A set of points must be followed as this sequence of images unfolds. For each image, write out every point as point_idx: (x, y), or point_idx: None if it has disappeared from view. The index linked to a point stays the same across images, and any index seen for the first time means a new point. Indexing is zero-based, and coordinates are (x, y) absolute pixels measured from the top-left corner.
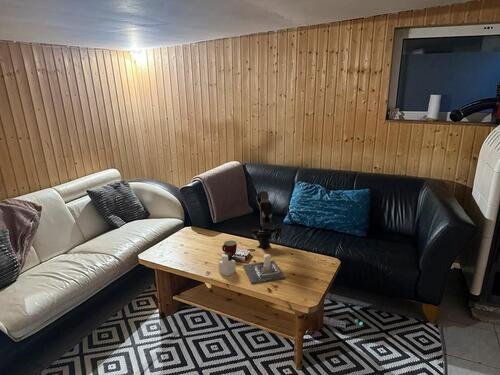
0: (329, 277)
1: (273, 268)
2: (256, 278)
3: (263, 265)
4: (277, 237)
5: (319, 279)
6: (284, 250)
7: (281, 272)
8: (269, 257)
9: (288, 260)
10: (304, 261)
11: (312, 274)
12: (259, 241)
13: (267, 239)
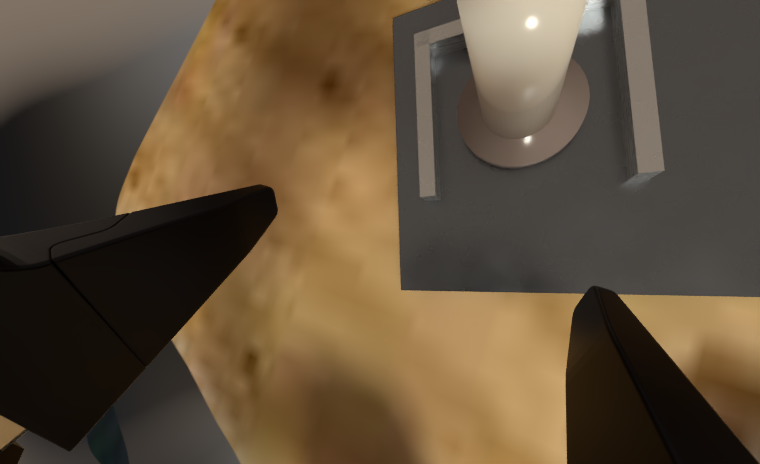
0: (191, 50)
1: (445, 151)
2: None
3: (527, 221)
4: (70, 226)
5: (232, 28)
6: (275, 441)
7: (401, 83)
8: None
9: (300, 277)
10: None
11: (241, 80)
12: (688, 408)
13: None
